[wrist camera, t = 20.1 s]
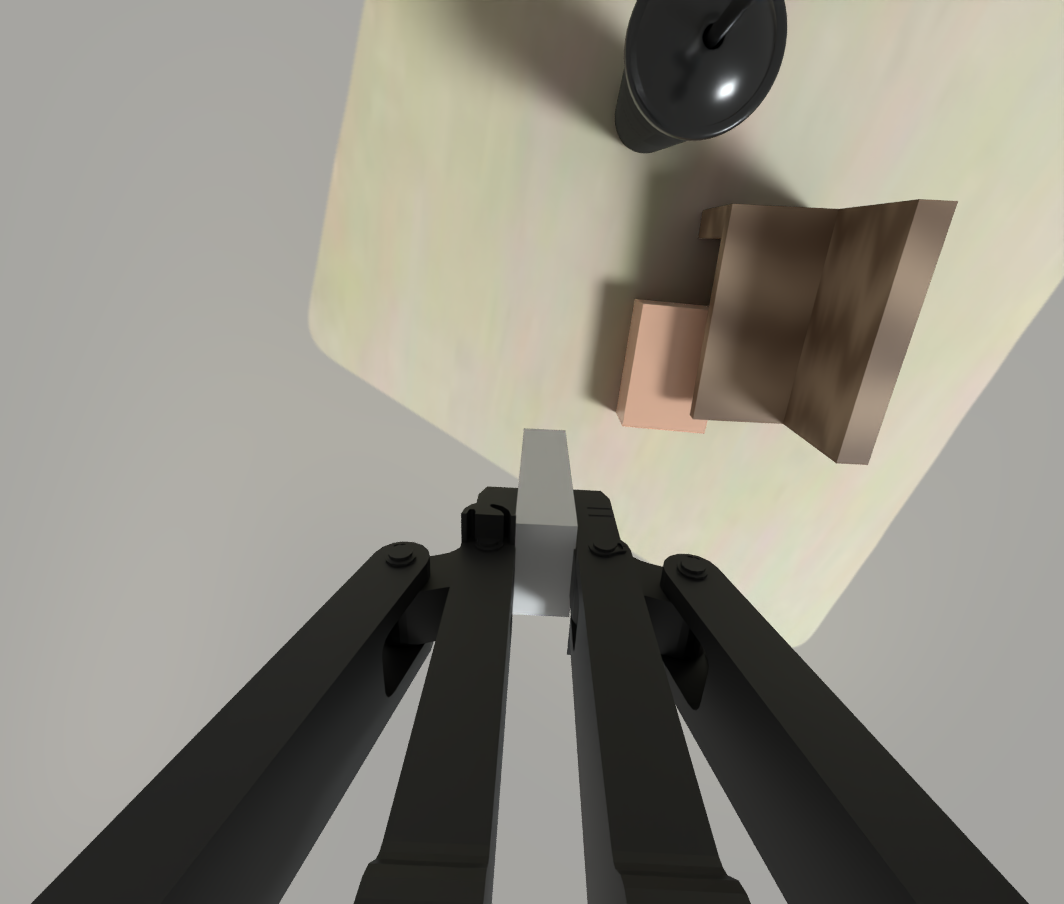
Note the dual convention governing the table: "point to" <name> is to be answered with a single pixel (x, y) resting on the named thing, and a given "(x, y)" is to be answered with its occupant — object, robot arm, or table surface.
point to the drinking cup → (696, 68)
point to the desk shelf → (815, 316)
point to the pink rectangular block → (662, 366)
